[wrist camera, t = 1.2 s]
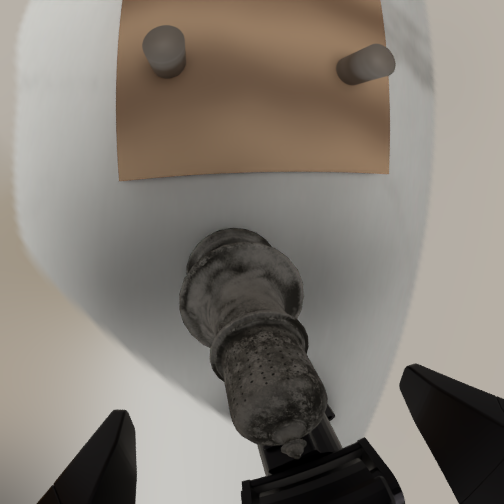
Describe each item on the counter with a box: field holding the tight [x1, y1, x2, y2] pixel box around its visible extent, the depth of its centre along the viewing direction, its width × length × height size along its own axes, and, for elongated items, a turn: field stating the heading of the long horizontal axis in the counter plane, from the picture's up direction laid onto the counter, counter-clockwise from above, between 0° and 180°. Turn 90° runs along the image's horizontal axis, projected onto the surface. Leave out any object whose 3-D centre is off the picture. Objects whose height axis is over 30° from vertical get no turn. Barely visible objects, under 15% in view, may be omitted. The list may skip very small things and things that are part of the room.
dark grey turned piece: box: [180, 228, 327, 459], centre depth 12 cm, size 6×6×12 cm
